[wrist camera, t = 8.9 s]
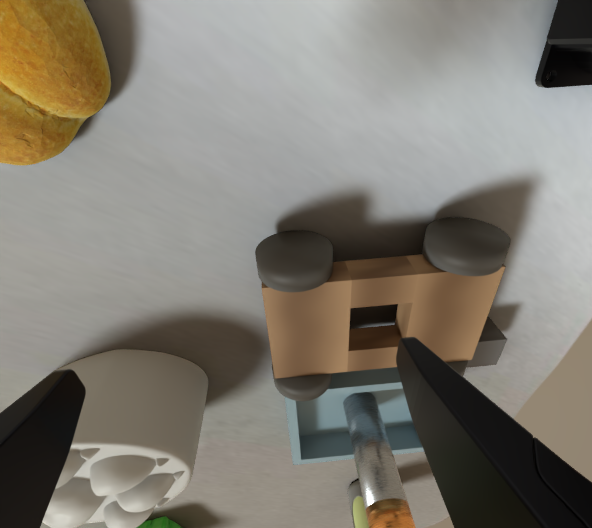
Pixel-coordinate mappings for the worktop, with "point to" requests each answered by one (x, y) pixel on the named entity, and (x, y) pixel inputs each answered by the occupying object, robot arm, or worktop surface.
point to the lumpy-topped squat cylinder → (130, 438)
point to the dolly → (379, 303)
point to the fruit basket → (159, 523)
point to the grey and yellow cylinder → (357, 506)
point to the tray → (332, 421)
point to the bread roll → (47, 76)
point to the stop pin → (376, 464)
